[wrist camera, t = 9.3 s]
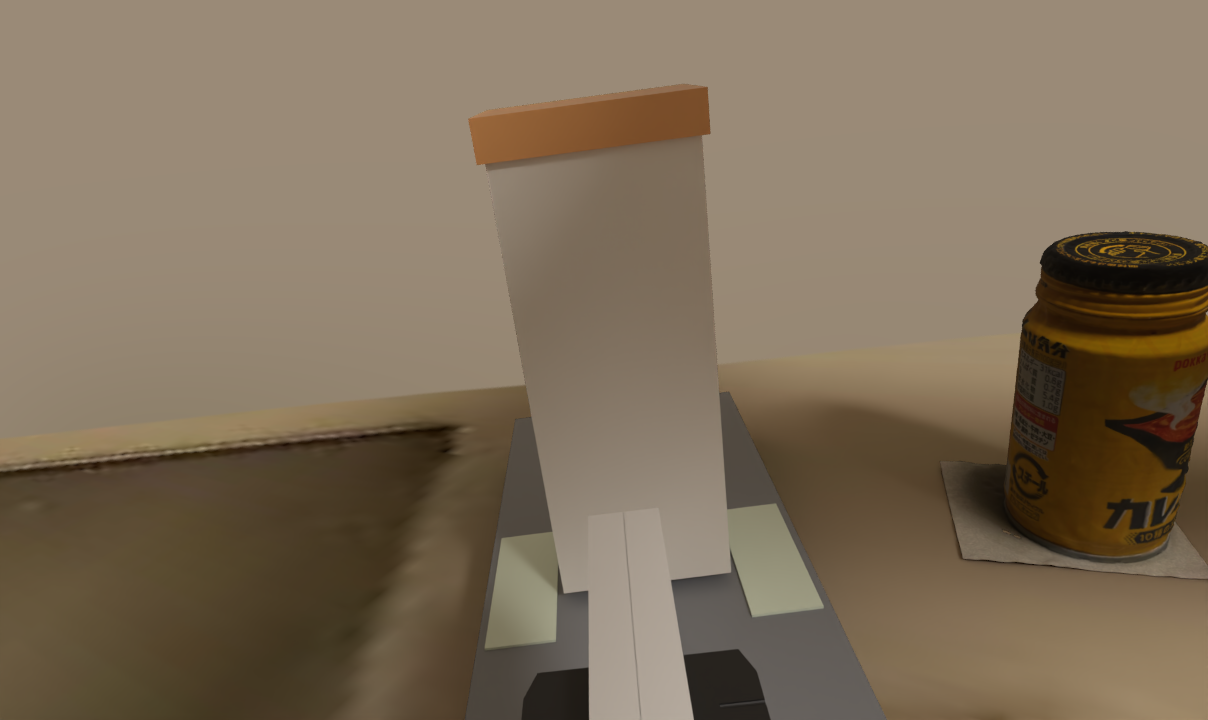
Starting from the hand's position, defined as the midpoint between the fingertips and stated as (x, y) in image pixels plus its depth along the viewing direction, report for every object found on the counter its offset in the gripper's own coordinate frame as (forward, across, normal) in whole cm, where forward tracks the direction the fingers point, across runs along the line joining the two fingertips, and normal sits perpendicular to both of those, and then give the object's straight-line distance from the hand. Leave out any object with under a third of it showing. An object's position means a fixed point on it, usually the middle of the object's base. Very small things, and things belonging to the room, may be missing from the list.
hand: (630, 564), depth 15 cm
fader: (+10, 0, -7) cm, 12 cm away
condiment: (+13, +18, -11) cm, 25 cm away
